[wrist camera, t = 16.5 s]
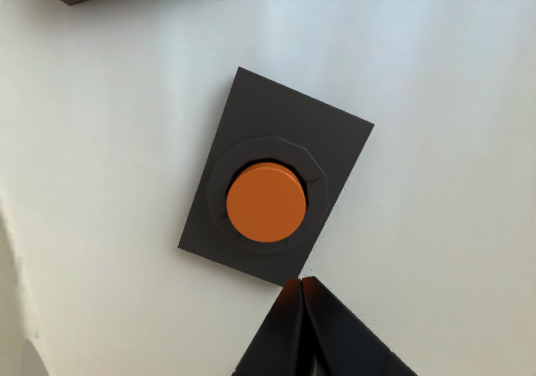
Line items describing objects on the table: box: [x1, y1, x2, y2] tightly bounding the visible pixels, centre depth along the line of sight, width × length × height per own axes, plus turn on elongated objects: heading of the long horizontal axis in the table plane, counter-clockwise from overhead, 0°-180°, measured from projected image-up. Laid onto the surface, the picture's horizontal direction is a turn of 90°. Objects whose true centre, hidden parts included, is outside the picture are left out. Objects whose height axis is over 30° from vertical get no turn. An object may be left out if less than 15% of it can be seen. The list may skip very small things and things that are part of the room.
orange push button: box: [227, 162, 306, 242], centre depth 15 cm, size 4×4×2 cm
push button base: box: [178, 67, 374, 287], centre depth 17 cm, size 13×9×4 cm
